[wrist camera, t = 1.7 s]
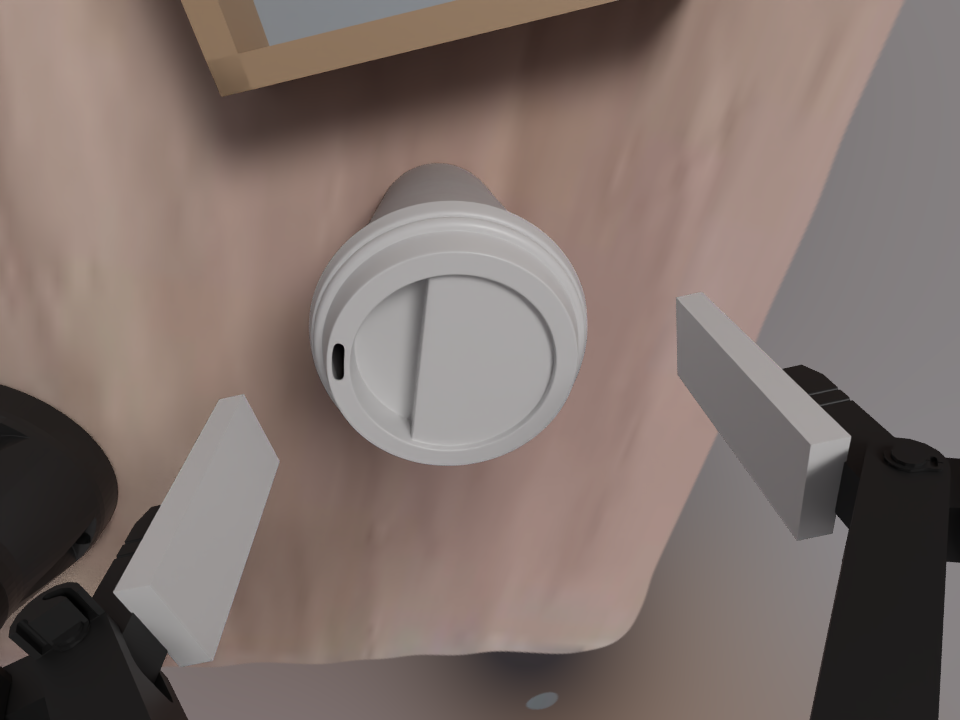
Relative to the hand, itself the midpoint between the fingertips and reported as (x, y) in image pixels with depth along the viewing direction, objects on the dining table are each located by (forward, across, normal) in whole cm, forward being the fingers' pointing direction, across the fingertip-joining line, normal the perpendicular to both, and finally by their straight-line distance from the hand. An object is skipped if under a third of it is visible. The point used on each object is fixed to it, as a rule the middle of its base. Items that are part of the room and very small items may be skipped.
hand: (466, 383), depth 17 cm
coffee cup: (+16, 0, 0) cm, 16 cm away
